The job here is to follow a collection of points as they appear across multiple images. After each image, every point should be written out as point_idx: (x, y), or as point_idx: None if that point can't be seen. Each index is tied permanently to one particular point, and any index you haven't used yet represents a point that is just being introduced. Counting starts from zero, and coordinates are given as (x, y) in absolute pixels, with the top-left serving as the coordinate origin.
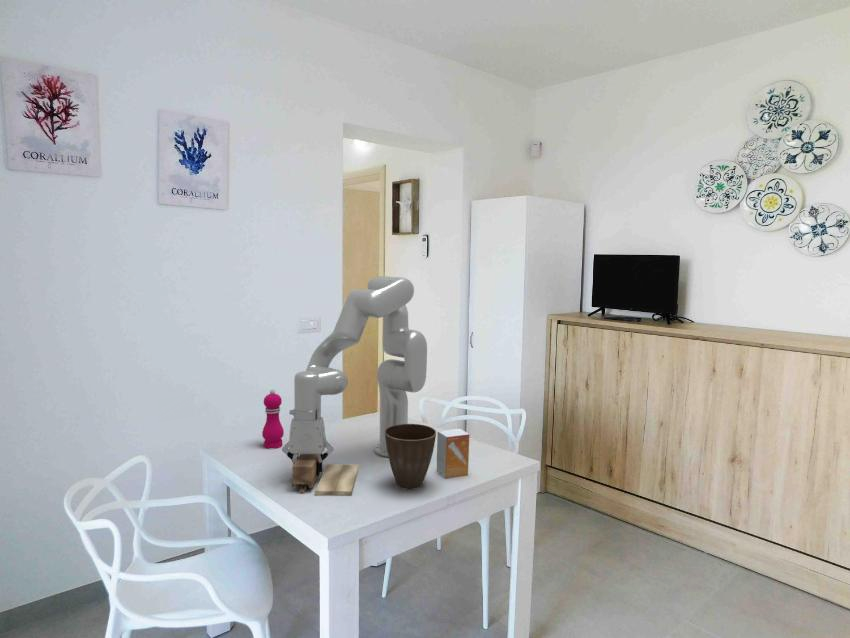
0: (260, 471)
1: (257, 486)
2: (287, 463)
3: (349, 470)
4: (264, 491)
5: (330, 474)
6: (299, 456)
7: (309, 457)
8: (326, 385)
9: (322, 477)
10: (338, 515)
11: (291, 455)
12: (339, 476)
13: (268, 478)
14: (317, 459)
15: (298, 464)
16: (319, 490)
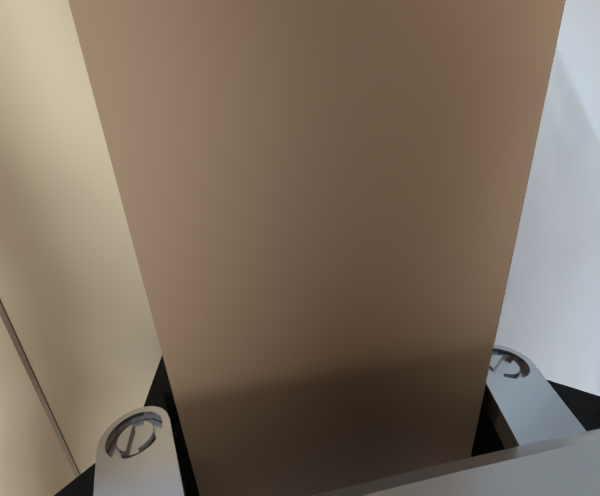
0: (571, 359)
1: (592, 159)
2: None
3: (5, 472)
4: (552, 73)
5: (129, 379)
6: (460, 453)
7: (317, 461)
8: None
9: None
10: None
11: (589, 424)
12: (26, 359)
13: (532, 285)
14: (174, 445)
15: (451, 127)
16: (67, 2)
